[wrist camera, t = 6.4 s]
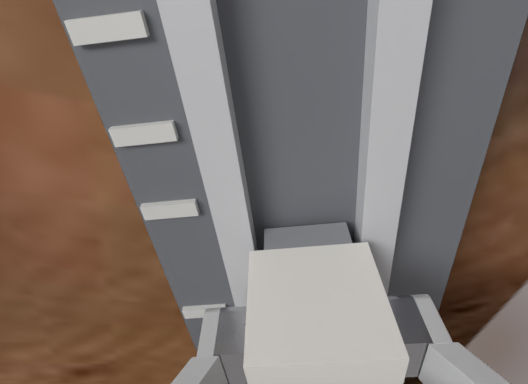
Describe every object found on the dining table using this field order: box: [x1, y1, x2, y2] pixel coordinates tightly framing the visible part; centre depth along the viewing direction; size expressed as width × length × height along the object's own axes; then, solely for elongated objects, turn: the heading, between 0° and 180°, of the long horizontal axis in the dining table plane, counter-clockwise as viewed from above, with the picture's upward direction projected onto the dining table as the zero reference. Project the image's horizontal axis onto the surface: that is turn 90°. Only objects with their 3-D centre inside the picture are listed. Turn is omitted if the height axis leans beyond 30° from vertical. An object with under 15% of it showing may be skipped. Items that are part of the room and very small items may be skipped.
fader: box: [243, 222, 409, 384], centre depth 11 cm, size 3×4×5 cm
